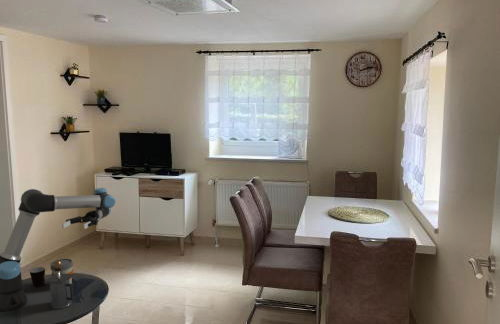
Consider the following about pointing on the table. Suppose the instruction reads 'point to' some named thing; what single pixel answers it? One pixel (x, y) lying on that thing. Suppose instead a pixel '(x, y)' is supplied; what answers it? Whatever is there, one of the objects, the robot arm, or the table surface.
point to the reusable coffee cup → (64, 268)
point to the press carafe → (60, 290)
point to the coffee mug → (38, 276)
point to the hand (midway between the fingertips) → (73, 226)
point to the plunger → (57, 267)
